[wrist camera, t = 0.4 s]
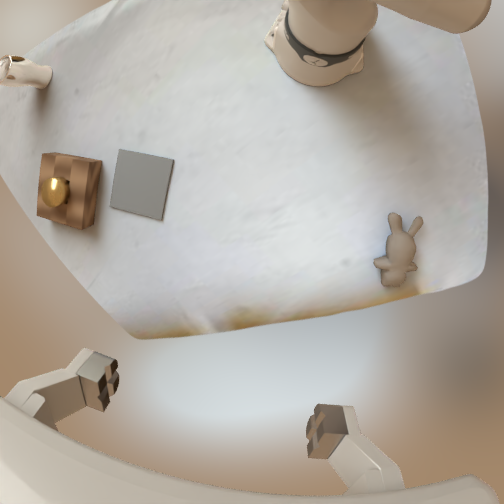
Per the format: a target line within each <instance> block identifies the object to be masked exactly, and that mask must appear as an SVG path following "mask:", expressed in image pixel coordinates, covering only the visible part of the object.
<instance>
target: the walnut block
mask: <svg viewBox="0 0 504 504" xmlns="http://www.w3.org/2000/svg"><path fill="white" fill-rule="evenodd" d="M101 163H102V161H101V160H95V159H90V158H84V157H79V156H73V155H67V154H61V153H44V154H42V159H41V167H40V176H39V187H38V201H37V216H40V217H43V218H46V219H49V220H52V221H55V222H58V223H61V224H64V225H68V226H71V227H74V228H77V229H80V230H83V229H85V228H87V227H89V226H91V225H93V224H94V215H95V206H96V197H97V190H98V182H99V176H100V169H101ZM58 176H61V177H63V178H65V179H66V180H69V181H70V183H69V187H70V195H69V198H68V200H67V202H66V203H64V204H62V205H59V206H56V207H53V208H51V207H48V206H47V205H46V204H45V203H44V202H43V199H42V196H41V189H42V185H43V183H44V181H45V180H47V179H48V178H53V177H58Z"/></svg>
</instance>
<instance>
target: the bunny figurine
mask: <svg viewBox="0 0 504 504" xmlns="http://www.w3.org/2000/svg"><path fill="white" fill-rule="evenodd" d="M388 222H389V225H390V229H391V232H392V234H391V235H389V236H388V238H387V241H386V255H385V256H382V257H379V258H376V259H374V265H375V266H376V268H380V269H381V279H382V280H381V283H382V285H383V286H391V285H392V286H393V287H399V286H400V284H402V283H403V282H404V281H405V278H406V275H405V272H409V271H416V270H417V268H418V267H417V266H416V265H415V263H414V262H412V260H413V258H414V255H415V252H416V245H415V241H414V238H413V237H414V236H415V234H416V233H417V232H418V230H419V229H420V228H421V226H422V225H423V219H422V217H420V216H418V217H416V219H415V220H414V221H413V223H412V225H411V227H410V229H409V231H408V233H407V232H402V218H401V216H400V215H398V214H396V213H390V214H389V215H388Z"/></svg>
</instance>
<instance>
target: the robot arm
mask: <svg viewBox="0 0 504 504" xmlns="http://www.w3.org/2000/svg"><path fill="white" fill-rule="evenodd" d="M376 3H377V4H379V5H381V6H384V7H386V8H388V9H391V10H393V11H395V12H397V13H399V14H402V15H404V16H406V17H408V18H410V19H413V20H416V21H419V22H422V23H424V24H427V25H430V26H433V27H436V28H439V29H441V30H444V31H447V32H450V33H453V34H458V33H463V32H466V31H469V30H471V29H473V28H475V27H476V26H478V25H479V24H480V23H481V22H482V21H483V20H484V19H485V17H486V16H487V14H488V12H489V9H490V5H491V0H285V1H284V3H283V5H282V11H281V13H280V14H279V16H278V17H277V19H276V21H275V22H274V24H273V25H272V27H271V29H270V30H269V32H268V34H267V35H266V37H265V41H264V42H265V44H266V45H267V47H268V48H269V49H271V50H272V51H273V52H274V54H275V55H276V58H277V60H278V63H279V64H280V66H281V68H282V69H283V70H284V71H285V72H286V73H287V74H288V75H289V76H290V77H292V78H293V79H295V80H296V81H298V82H301V83H303V84H306V85H311V86H327V85H331V84H334V83H336V82H338V81H340V80H341V79H342V78H344V77H345V76H347V75H349V74H354V73H358V72H360V71H362V69H363V42H364V40H365V37H366V35H367V34H368V33H369V32H370V30H371V29H372V28H373V27H374V25H375V23H376V21H377V17H378V8H377V4H376ZM272 35H274V37H272ZM117 368H118V362H117V360H116V359H113V358H111V357H108V356H105V355H103V354H100V353H98V352H95V351H92V350H90V349H88V348H84V349H82V350H81V351H80V352H79V354H78V355H77V356H76V357H75V358H74V360H73V361H72V362H71V363H70V364H69V365H68V367H67V368H66V369H63V368H62V369H59V370H55V371H52V372H49V373H46V374H43V375H40V376H37V377H33V378H30V379H26V380H23V381H20V382H18V383H17V384H16V386H15V387H14V388H13V389H12V390H11V391H10V392H9V394H8V395H7V396H6V397H5V398H3V397H1V396H0V504H500V503H499V500H498V497H497V495H496V493H495V491H494V489H493V488H492V487H491V486H489V485H488V484H487V483H485V482H484V481H482V480H481V479H480V478H478V477H477V476H475V475H472V474H468V475H463V476H460V477H456V478H453V479H449V480H445V481H441V482H437V483H432V484H428V485H423V486H418V487H413V488H407V489H405V486H404V482H403V479H402V476H401V472H400V469H399V467H398V465H396V464H395V463H394V462H393V461H392V460H391V459H390V458H389V457H388V456H386V455H385V454H384V453H383V452H382V451H381V450H380V449H379V448H378V447H377V446H376V445H374V444H373V443H372V442H371V441H370V440H369V439H368V438H367V437H366V436H365V435H361V432H360V429H359V425H358V421H357V417H356V413H355V410H354V407H353V406H340V405H327V404H317V405H316V407H315V409H314V415H312V416H310V418H309V421H308V423H307V428H306V437H307V438H308V439H309V443H308V445H307V451H308V458H316V459H328V462H329V463H330V464H331V466H332V467H333V468H334V470H335V471H336V472H337V473H338V475H339V476H340V478H341V479H342V480H343V481H344V483H345V484H346V486H347V487H348V488H349V489H348V490H347V491H346V492H345V493H344V494H343V495H335V496H301V495H282V494H269V493H259V492H251V491H243V490H236V489H230V488H224V487H218V486H213V485H208V484H203V483H198V482H194V481H189V480H185V479H181V478H177V477H173V476H169V475H166V474H163V473H159V472H156V471H153V470H149V469H146V468H143V467H140V466H137V465H134V464H131V463H129V462H126V461H123V460H120V459H118V458H115V457H113V456H110V455H108V454H105V453H103V452H100V451H98V450H96V449H93V448H91V447H89V446H87V445H85V444H82V443H80V442H78V441H76V440H74V439H72V438H70V437H68V436H66V435H64V434H62V433H60V432H58V430H57V427H56V425H55V423H56V422H58V421H60V420H61V419H63V418H65V417H67V416H69V415H71V414H73V413H75V412H77V411H78V410H80V409H82V408H84V407H86V406H89V407H91V408H94V409H96V410H99V411H102V412H104V411H105V409H106V407H107V406H108V404H109V403H110V399H109V397H110V396H112V395H114V394H115V392H116V391H117V388H118V384H119V374H118V372H117V371H116V369H117Z"/></svg>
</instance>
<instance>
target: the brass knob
mask: <svg viewBox="0 0 504 504" xmlns="http://www.w3.org/2000/svg"><path fill="white" fill-rule="evenodd" d="M69 183H70V181H69V180H66V179H65V178H63V177H61V176H58V177H53V178H48V179H47V180H45V181H44V183H43V185H42V189H41V196H42V199H43V202H44V203H45V204H46V205H47V206H48V207H51V208H53V207H56V206H59V205H62V204H64V203H66V202H67V200H68V198H69V195H70V187H69Z"/></svg>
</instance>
